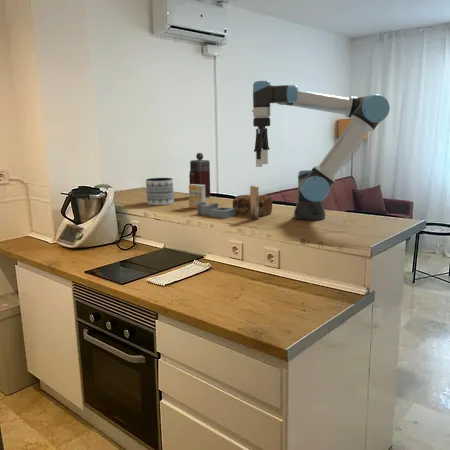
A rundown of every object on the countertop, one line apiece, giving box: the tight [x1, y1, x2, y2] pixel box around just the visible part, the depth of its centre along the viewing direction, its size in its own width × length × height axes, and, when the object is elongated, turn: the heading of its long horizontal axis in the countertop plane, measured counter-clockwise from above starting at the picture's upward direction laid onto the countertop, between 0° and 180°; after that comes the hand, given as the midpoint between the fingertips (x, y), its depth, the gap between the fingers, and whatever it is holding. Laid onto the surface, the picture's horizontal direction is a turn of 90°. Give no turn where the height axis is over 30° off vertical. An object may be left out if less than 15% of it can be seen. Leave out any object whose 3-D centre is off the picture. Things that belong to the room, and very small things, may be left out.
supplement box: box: [188, 183, 206, 209], centre depth 259 cm, size 8×5×13 cm, turn 68°
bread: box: [232, 194, 274, 217], centre depth 240 cm, size 19×11×10 cm, turn 54°
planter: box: [145, 177, 175, 206], centre depth 276 cm, size 16×16×14 cm
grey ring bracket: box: [196, 201, 237, 219], centre depth 238 cm, size 10×19×6 cm, turn 58°
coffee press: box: [188, 152, 211, 198], centre depth 296 cm, size 9×11×28 cm
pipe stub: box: [249, 185, 260, 221], centre depth 225 cm, size 4×4×16 cm
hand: (262, 165), depth 211 cm, fingers open, 13 cm apart
